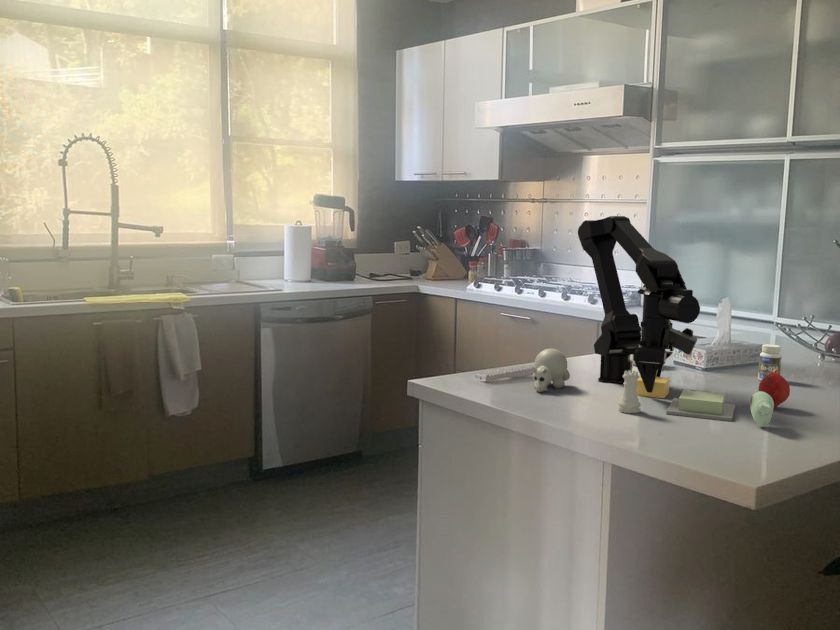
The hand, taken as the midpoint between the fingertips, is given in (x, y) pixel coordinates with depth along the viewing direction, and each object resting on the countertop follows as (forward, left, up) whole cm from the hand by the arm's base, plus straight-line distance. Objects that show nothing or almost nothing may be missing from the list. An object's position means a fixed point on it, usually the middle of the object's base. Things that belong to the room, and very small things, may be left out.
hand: (652, 388), depth 175 cm
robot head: (+22, -19, -1) cm, 29 cm away
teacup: (-7, +31, -2) cm, 32 cm away
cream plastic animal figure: (-22, -5, -2) cm, 23 cm away
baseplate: (+11, -11, -1) cm, 16 cm away
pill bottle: (+23, +27, -1) cm, 36 cm away
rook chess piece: (-2, -18, -1) cm, 18 cm away
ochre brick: (0, 0, -2) cm, 2 cm away
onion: (+24, -2, -1) cm, 24 cm away
